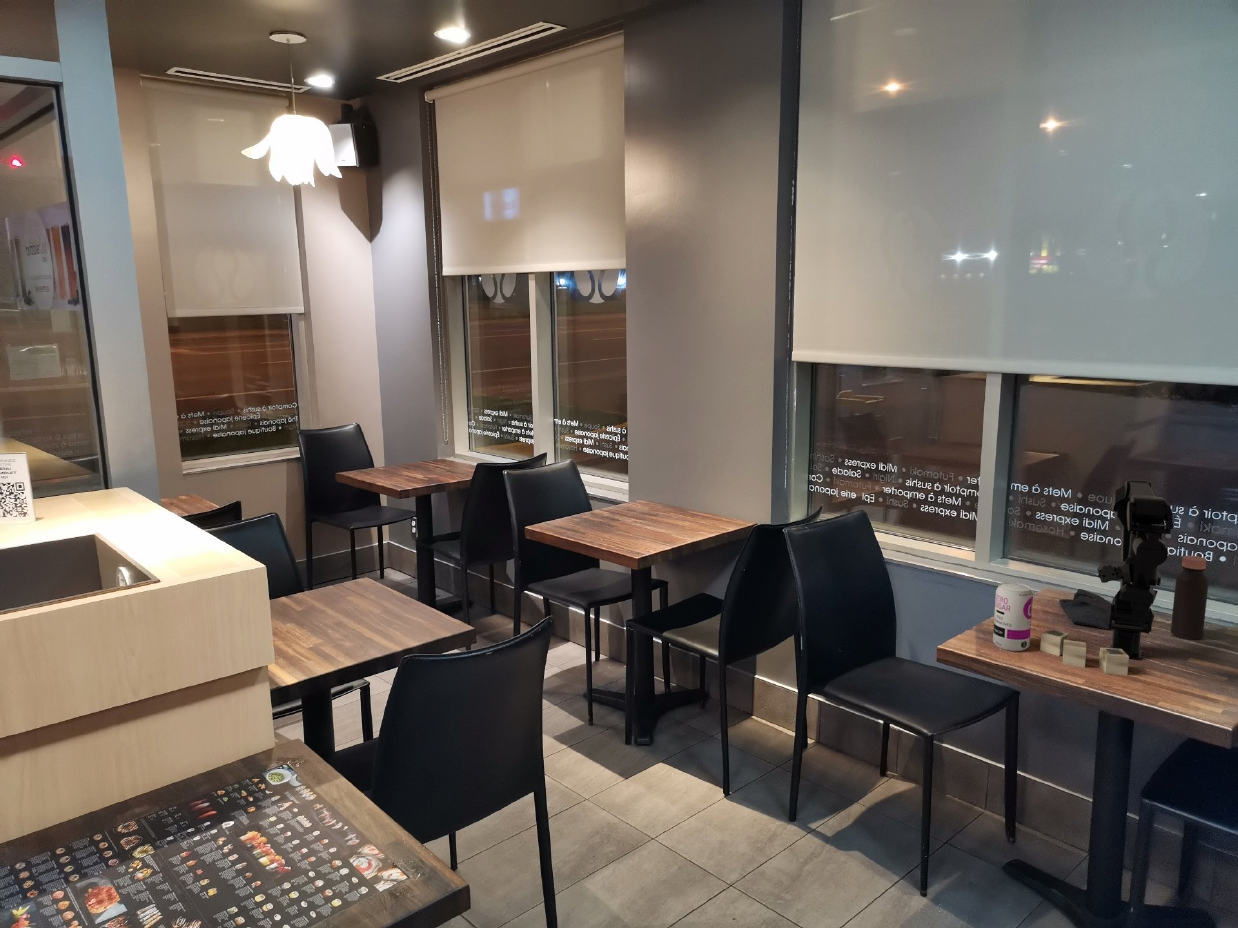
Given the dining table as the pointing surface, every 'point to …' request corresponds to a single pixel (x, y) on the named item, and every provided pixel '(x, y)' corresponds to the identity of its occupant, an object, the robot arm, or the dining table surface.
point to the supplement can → (1013, 616)
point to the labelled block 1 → (1053, 641)
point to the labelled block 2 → (1113, 661)
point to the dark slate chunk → (1087, 609)
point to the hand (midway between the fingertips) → (1137, 622)
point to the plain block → (1074, 653)
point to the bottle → (1190, 599)
